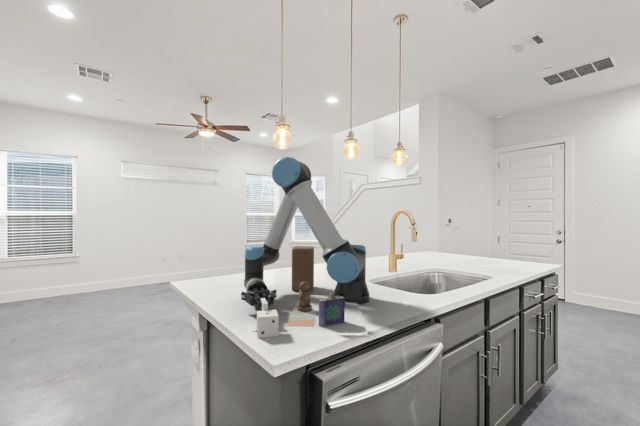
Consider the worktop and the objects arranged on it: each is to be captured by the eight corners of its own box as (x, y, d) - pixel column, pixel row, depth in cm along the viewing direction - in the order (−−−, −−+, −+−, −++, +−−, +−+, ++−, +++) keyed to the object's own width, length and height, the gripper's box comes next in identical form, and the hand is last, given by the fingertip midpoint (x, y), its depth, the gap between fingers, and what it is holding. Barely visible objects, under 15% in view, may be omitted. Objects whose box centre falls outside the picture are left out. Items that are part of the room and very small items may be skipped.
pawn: (311, 307, 112) (311, 279, 112) (311, 311, 107) (311, 282, 107) (297, 307, 112) (297, 279, 112) (297, 312, 107) (297, 283, 107)
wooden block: (312, 291, 139) (313, 248, 139) (291, 291, 139) (291, 248, 139) (313, 286, 149) (314, 246, 149) (293, 286, 149) (293, 246, 149)
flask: (320, 330, 93) (320, 295, 93) (316, 326, 95) (316, 293, 96) (346, 325, 97) (346, 292, 97) (341, 322, 100) (341, 290, 100)
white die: (276, 328, 94) (276, 309, 94) (278, 336, 88) (278, 315, 88) (256, 330, 92) (256, 310, 92) (257, 338, 87) (257, 317, 87)
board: (317, 309, 113) (317, 307, 113) (315, 329, 93) (315, 326, 93) (293, 308, 113) (293, 306, 113) (286, 328, 94) (286, 326, 94)
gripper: (273, 298, 118) (286, 317, 95) (239, 300, 114) (243, 322, 91) (273, 278, 118) (286, 294, 96) (239, 281, 114) (244, 297, 91)
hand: (265, 307), depth 93 cm, fingers closed
